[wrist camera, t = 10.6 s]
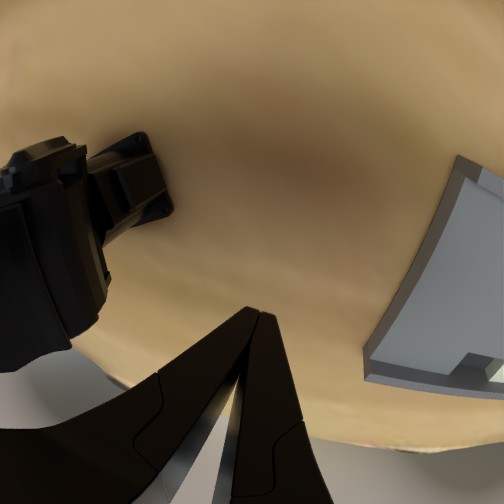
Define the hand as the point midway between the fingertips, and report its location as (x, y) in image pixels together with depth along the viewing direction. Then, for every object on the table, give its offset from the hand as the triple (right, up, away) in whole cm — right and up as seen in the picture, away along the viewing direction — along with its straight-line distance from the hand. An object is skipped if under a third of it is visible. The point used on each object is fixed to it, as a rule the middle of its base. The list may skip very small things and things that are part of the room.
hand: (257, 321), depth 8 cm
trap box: (+22, -3, +9) cm, 24 cm away
